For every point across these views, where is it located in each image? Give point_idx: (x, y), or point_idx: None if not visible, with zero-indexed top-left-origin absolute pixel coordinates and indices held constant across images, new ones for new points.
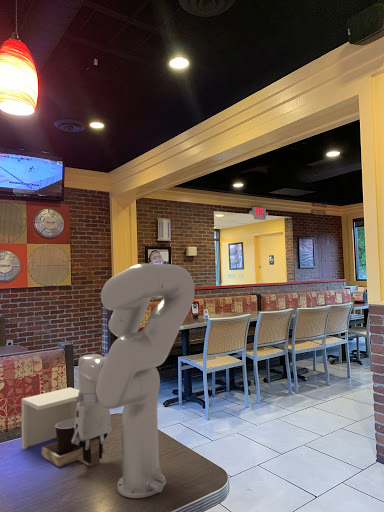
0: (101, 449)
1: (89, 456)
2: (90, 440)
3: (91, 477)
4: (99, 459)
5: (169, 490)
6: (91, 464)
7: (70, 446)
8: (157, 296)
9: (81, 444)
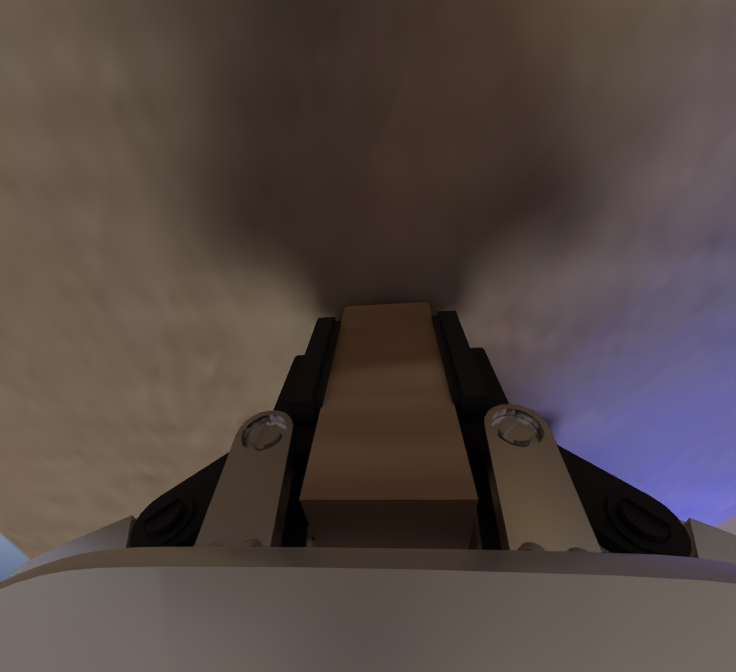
0: (306, 365)
1: (463, 341)
2: (444, 521)
3: (531, 117)
4: (341, 320)
5: None
6: (421, 308)
7: (471, 541)
8: None
9: (645, 505)
